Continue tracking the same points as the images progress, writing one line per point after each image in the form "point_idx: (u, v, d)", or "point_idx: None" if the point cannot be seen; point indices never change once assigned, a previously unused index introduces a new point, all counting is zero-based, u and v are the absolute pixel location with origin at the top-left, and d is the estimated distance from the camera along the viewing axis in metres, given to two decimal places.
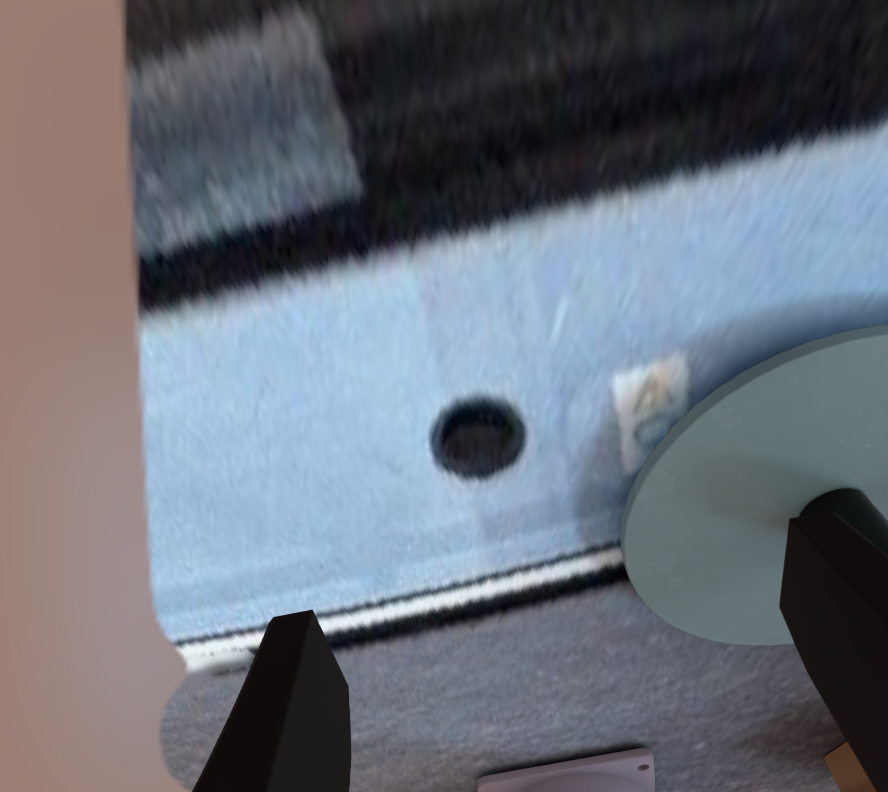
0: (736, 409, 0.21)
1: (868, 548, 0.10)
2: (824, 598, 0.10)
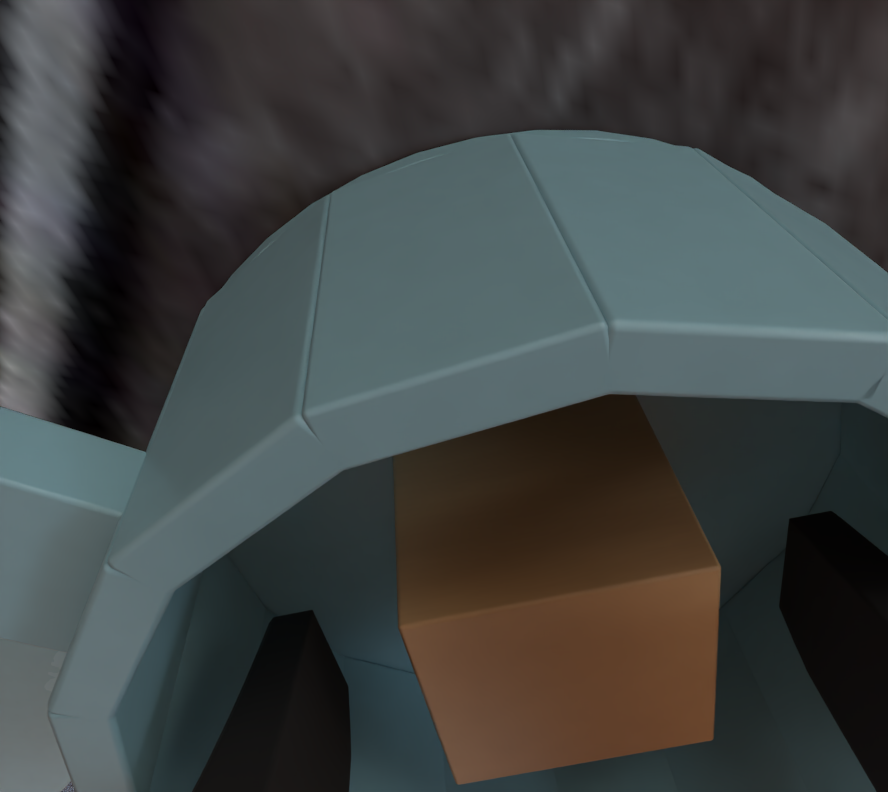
0: None
1: (869, 548, 0.10)
2: (824, 598, 0.10)
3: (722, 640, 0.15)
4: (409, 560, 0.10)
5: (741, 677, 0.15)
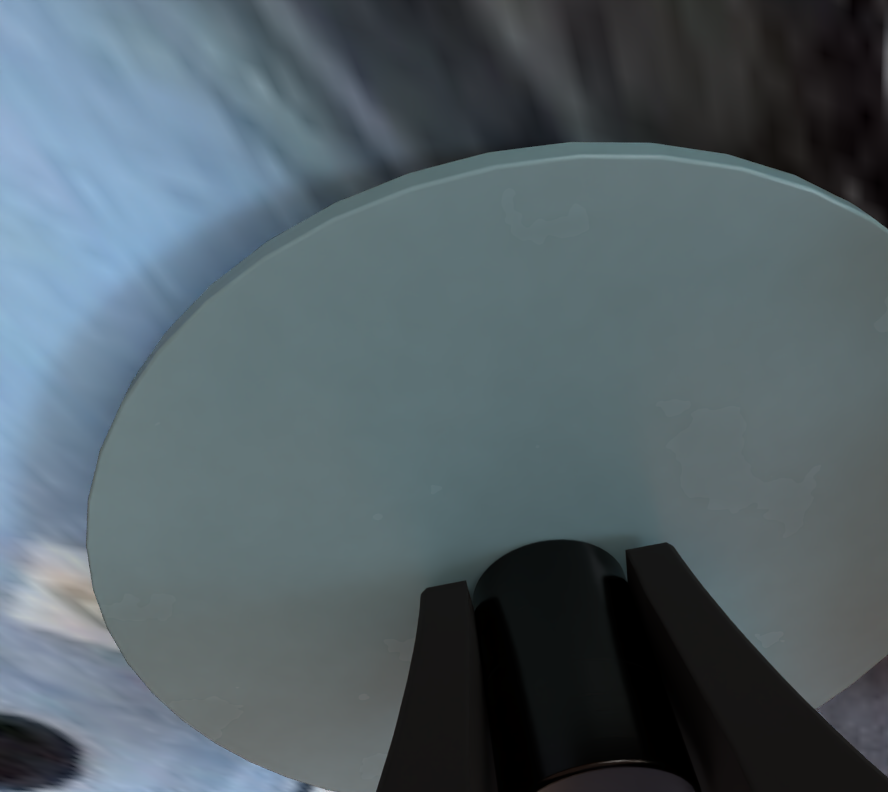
0: (137, 592, 0.11)
1: (688, 583, 0.10)
2: (650, 630, 0.10)
3: None
4: None
5: None
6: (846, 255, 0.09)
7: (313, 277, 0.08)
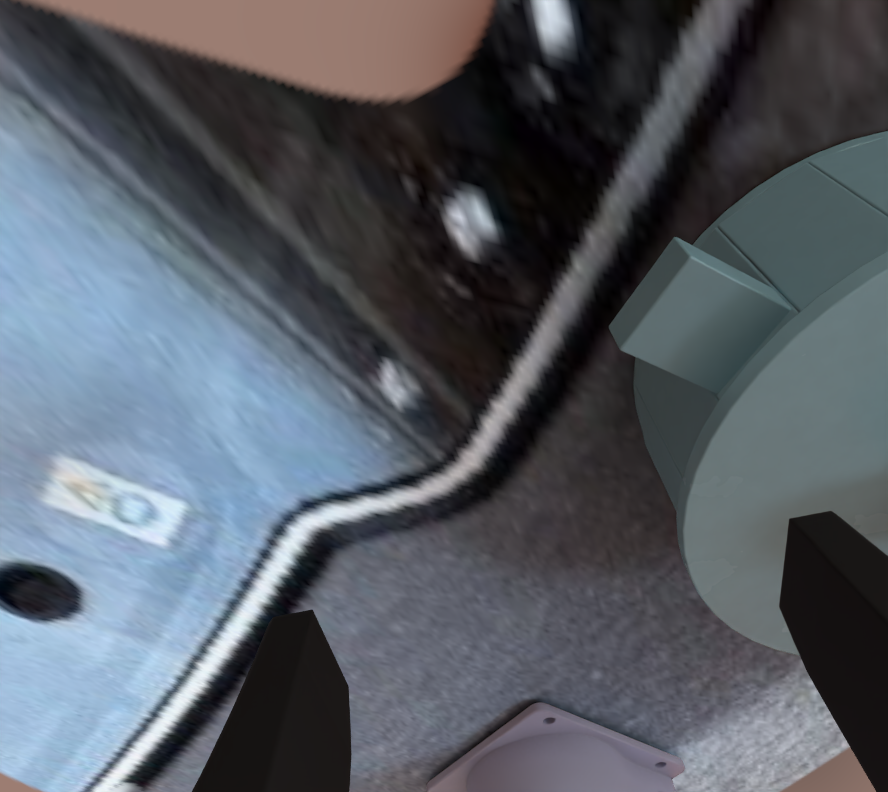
0: (722, 474, 0.16)
1: (869, 548, 0.10)
2: (824, 598, 0.10)
3: None
4: None
5: None
6: None
7: None
